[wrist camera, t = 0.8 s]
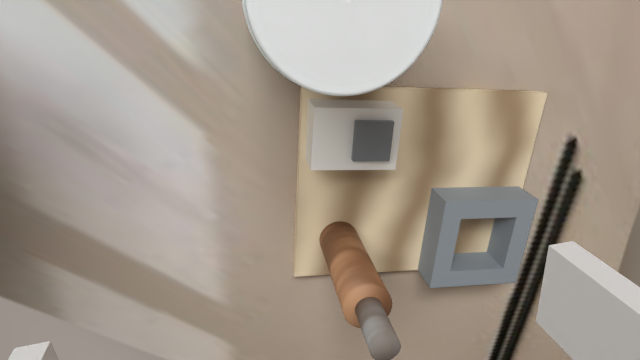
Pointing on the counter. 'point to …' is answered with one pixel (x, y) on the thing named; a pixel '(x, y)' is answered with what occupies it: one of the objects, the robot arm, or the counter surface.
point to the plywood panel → (416, 172)
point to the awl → (359, 288)
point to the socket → (504, 245)
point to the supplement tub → (341, 40)
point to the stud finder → (352, 134)
